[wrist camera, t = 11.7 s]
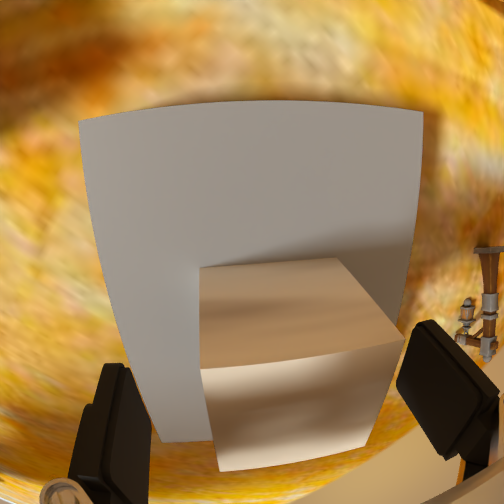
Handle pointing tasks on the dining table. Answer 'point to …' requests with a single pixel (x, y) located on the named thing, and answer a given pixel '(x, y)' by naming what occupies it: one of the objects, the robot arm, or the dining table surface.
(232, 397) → the wooden cube
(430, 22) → the dining table surface
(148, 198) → the stand
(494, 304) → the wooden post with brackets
